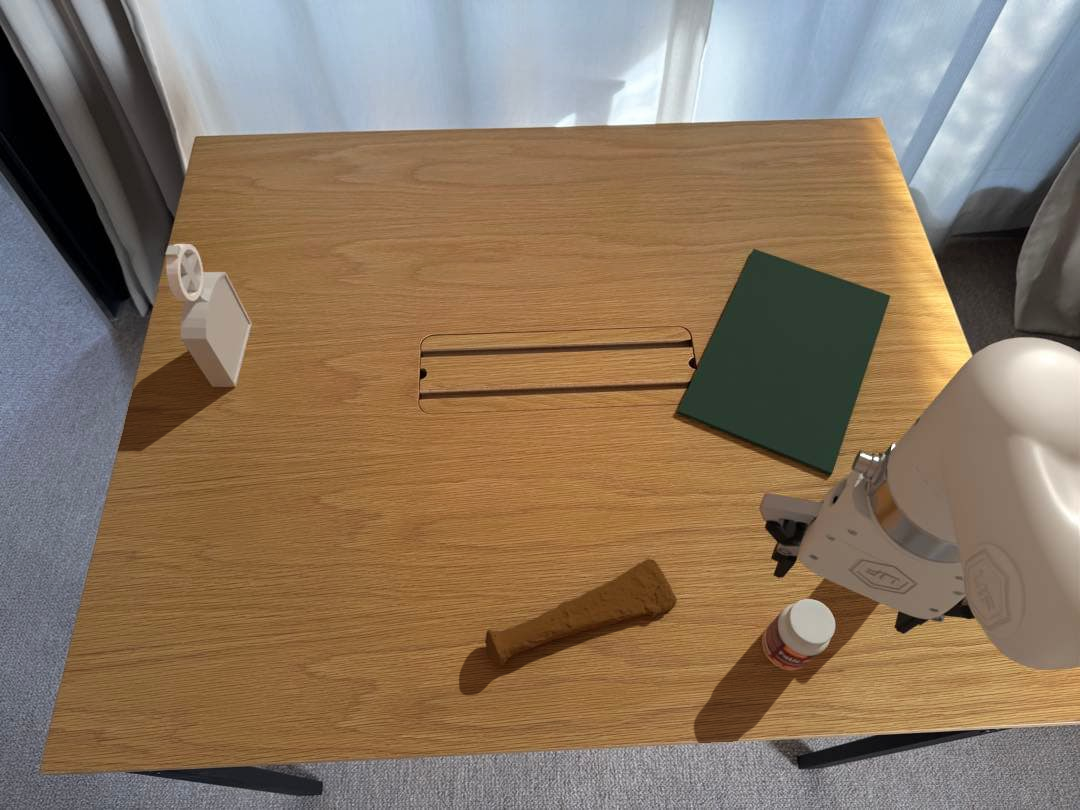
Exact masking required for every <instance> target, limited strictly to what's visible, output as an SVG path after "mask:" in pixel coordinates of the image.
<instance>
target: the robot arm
mask: <svg viewBox="0 0 1080 810" xmlns="http://www.w3.org/2000/svg"><path fill="white" fill-rule="evenodd" d="M851 470H852V471H850V472H849V473H848V474H846V475H845V476H844V477H842V478H841V479H840V480H839V481H838V482H837V483H835V484H834V485H833V486H832V487H831V488H830V489H829V490H828V491H827V492H826V493H825V494H824V495H823V496H822V497H821V498H820V499H819V501H815V500H810V499H803V498H798V497H792V496H788V495H781V494H776V493H769V492H767V493H764V495H763V497H762V500H761V503H760V505H759V507H758V509H759V512H760V514H761V517H762V520H763V521H764V522H765V525H764V529H765V530H766V532H768V533H769V534H770V536H771V538H773V539H774V541H776V543H775V546H774V549H773V551H772V554H771V557H770V559H771V560H773V561H775V562H777V563H776V566H775V569H774V571H773V577H776V578H778V579H781V578H785V576H786V575H787V574H788V572H789V571H790V570H791V569H792V568H793V566H795V564H796V562H797V560H799V562H800V563H801V565H802V566H804V567H805V569H807V570H809V571H810V572H812V573H813V574H815V575H817V576H820V577H822V578H823V579H825V580H827V581H830V582H832V583H834V584H837V585H839V586H841V587H843V588H846V589H847V590H849V591H852V592H854V593H855V594H856V593H857V594H859V595H861V596H863V597H866V598H868V599H869V600H873V601H874V602H877V603H879V604H882V605H884V606H886V607H888V608H890V609H893V610H895V611H898V612H897V616H896V619H895V624H894V629H896V632H898V633H900V634H902V635H905V634H906V633H907V632H908V633H909V631H911V630H913V629H914V628H916V627H917V626H922V625H924V624H925V623H927V622H928V621H932V622H935V623H943V622H945V617H951V618H960V619H966V620H974V619H975V620H976V622H977V623H978V625H980V627H981V630H982V631H983V633H984V634H985V636H986V637H987V639H988V640H989V641H990V643H991V644H992V645H993V646H994V648H996V650H998V651H999V652H1000V653H1001V654H1002V655H1003V656H1005V657H1006V658H1007V659H1009V660H1011V661H1013V662H1015V663H1017V664H1019V665H1021V666H1023V667H1027V668H1030V669H1035V670H1040V671H1058V670H1069V669H1070V670H1071V669H1076V668H1080V351H1078V350H1077V349H1074V348H1073V347H1071V346H1069V345H1066V344H1063V343H1060V342H1057V341H1054V340H1050V339H1047V338H1041V337H1028V336H1027V337H1025V336H1024V337H1023V336H1022V337H1012V338H1005V339H1002V340H1000V341H997V342H994V343H991V344H989V345H986V346H985V347H983V348H982V349H980V350H978V351H977V352H975V353H974V354H973V355H972V356H971V357H970V358H969V359H968V360H966V362H965V363H964V364H963V365H962V366H961V367H960V368H959V369H958V370H957V372H956V373H955V374H954V375H953V377H952V378H951V379H950V380H949V381H948V382H947V383H946V384H945V386H944V387H943V388H942V389H941V390H940V392H939V393H938V394H937V395H936V396H935V398H934V399H933V400H932V401H931V403H930V404H928V406H927V407H926V408H925V409H924V410H923V412H922V413H921V414H920V415H919V416H918V418H917V419H916V420H915V421H914V423H912V425H911V426H910V427H909V428H908V430H906V431H905V433H904V434H903V436H902V437H901V438H900V439H899V441H897V443H893V442H892V443H891V444H890V445H889V447H888V448H887V449H886V450H885V452H878V454H877V453H875V452H873V453H869V452H867V451H864V450H859V451H858V452H857V454H856V456H855V457H854V460H853V462H852V465H851Z"/></svg>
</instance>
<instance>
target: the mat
mask: <svg viewBox="0 0 1080 810" xmlns="http://www.w3.org/2000/svg"><path fill="white" fill-rule="evenodd" d="M890 299H891V295H890V294H886V293H884V292H882V291H878V290H875V289H872V288H869V287H867V286H865V285H861V284H858V283H855V282H853V281H849V280H846V279H844V278H841V277H837V276H835V275H833V274H829V273H826V272H823V271H820V270H817V269H814V268H811V267H809V266H805V265H803V264H799V263H796V262H793V261H791V260H788V259H786V258H782V257H780V256H776V255H773V254H770V253H768V252H764V251H762V250H759V249H756V248H753V249H752V251H751V254H750V255H749V257H748V260H747V262H746V264H745V266H744V268H743V271H742V273H741V274H740V277H739V279H738V281H737V283H736V285H735V288H734V289H733V292H732V293H731V296H730V298H729V301H728V302H727V304H726V306H725V308H724V311H723V312H722V315H721V317H720V319H719V322H718V323H717V326H716V328H715V330H714V332H713V334H712V336H711V338H710V341H709V343H708V345H707V347H706V349H705V351H704V354H703V355H702V358H701V360H700V361H699V364H698V366H697V369H696V370H695V372H694V375H693V377H692V379H691V381H690V383H689V385H688V387H687V390H686V392H685V394H684V396H683V398H682V401H681V402H680V405H679V406H678V409H677V411H676V414H678V415H679V416H682V417H684V418H687V419H690V420H691V421H694V422H698V423H699V424H702V425H705V426H707V427H709V428H712V429H714V430H716V431H719V432H722V433H724V434H726V435H730V436H732V437H734V438H737V439H739V440H742V441H744V442H746V443H749V444H752V445H754V446H756V447H759V448H761V449H764V450H767V451H768V452H771V453H773V454H776V455H779V456H780V457H783V458H786V459H788V460H791V461H793V462H795V463H798V464H800V465H804V466H806V467H808V468H810V469H813V470H815V471H818V472H821V473H823V474H825V475H827V476H832V474H833V473H834V470H835V467H836V464H837V461H838V458H839V455H840V451H841V448H842V446H843V442H844V439H845V436H846V433H847V429H848V427H849V424H850V421H851V417H852V414H853V412H854V409H855V406H856V402H857V399H858V396H859V394H860V390H861V388H862V385H863V381H864V379H865V375H866V373H867V369H868V366H869V362H870V360H871V357H872V354H873V351H874V348H875V344H876V341H877V338H878V336H879V332H880V329H881V326H882V323H883V320H884V317H885V314H886V312H887V308H888V305H889V302H890Z"/></svg>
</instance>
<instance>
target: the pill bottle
mask: <svg viewBox="0 0 1080 810" xmlns="http://www.w3.org/2000/svg"><path fill="white" fill-rule="evenodd" d="M835 631H836V620H835V617H834V615H833V613H832V611H831V610H830V608H829V607H827V605H825V604H824V603H823V602H821V601H820V600H817V599H814V598H803V599H801V600H798V601H796V602H793V603H791V604H789V605H787V606H786V607H784V609H782V610H781V612H780V613H779V614H778V615H777V616H776V617H775V618H774V619H773V620H772V622H771V623H770V624H769V625H768V626H767V627H766V628H765V630H764V631H763V635H762V640H761V641H762V642H761V643H762V644H761V645H762V649H763V652H764V654H765V657H767V659H768V660H769V661H770V662H771V663H772V664H773V665H774V666H775V667H778V668H779V669H782V670H786V671H796V670H799V669H802V668H803V667H804V666H806V665H807V664H808V663H810V662H811V661H813V659H815V658H816V657H817V656H819V655H820V654H821V653H823V652H824V651H825V650H826V649H827V647H828V646H829V644H830V641H831V638H832V637H833V636H834V634H835Z"/></svg>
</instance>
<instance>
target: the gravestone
mask: <svg viewBox="0 0 1080 810" xmlns="http://www.w3.org/2000/svg"><path fill="white" fill-rule="evenodd" d="M165 256H166V265H165V267H166V269H165V271H166V279H167V284H168V287H169V290H170V292H171V293H172V295H173V296H174V298H175V299H176V300H178V301H180V302H181V301H183V305H182V309H181V314H180V315H181V316H180V326H179V327H180V328H179V329H180V340H181V341H182V343H183V345H184V346H185V348H186V349H187V350H188V352H189V354H190V355H191V356H192V358H193V360H194V361H195V363H196V364H197V365H198V368H199V369H200V371H201V372H202V373H203V375H204V376H205V378H206V379H207V381H208V382H209V384H210V385H211V387H213V388H236V387H237V384H238V380H239V377H240V376H239V375H240V372H241V368H242V364H243V362H244V361H243V360H244V356H245V352H246V348H247V345H248V341H249V336H250V333H251V329H252V325H253V322H252V320H251V319H250V317H249V315H248V313H247V310H246V309H245V307H244V304H243V303H242V301H241V299H240V297H239V295H238V293H237V291H236V289H235V287H234V285H233V283H232V281H231V280H230V278H229V276H228V274H227V272H226V271H204V268H203V267H204V266H203V263H202V258H201V255H200V253H199V251H198V249H197V248H196V246H194V245H193V244H190V243H175V244H173V245H168V246H167V247H166V250H165Z"/></svg>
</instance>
